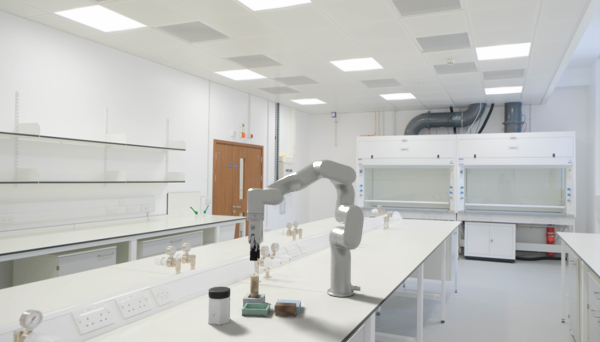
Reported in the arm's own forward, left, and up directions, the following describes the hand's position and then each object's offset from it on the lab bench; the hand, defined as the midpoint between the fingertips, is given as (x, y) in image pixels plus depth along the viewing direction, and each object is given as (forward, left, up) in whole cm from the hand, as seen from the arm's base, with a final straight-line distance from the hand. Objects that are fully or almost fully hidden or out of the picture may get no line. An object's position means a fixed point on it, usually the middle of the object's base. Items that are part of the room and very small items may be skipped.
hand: (254, 259), depth 177 cm
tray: (-3, +10, -19) cm, 22 cm away
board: (-15, +4, -20) cm, 25 cm away
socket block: (0, 0, -19) cm, 19 cm away
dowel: (0, 0, -19) cm, 19 cm away
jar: (+9, +22, -20) cm, 31 cm away
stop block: (-15, +11, -19) cm, 27 cm away
